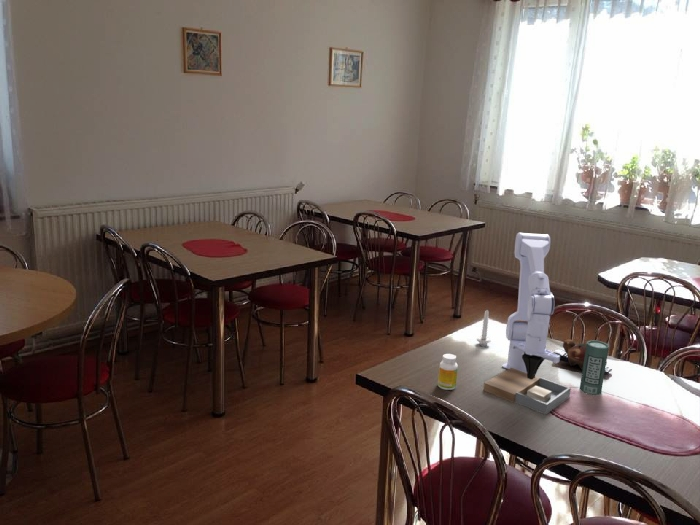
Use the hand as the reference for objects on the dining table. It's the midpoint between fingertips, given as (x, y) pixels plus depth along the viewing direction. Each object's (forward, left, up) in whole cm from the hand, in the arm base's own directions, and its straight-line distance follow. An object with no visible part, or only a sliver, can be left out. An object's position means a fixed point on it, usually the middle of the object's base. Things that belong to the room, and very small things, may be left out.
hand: (530, 377), depth 182 cm
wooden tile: (0, +3, -5) cm, 6 cm away
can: (-17, +12, -6) cm, 21 cm away
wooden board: (0, -5, -5) cm, 8 cm away
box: (0, +4, -5) cm, 7 cm away
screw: (-23, -29, -6) cm, 38 cm away
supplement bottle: (+14, -19, -6) cm, 25 cm away
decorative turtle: (-32, +3, -6) cm, 33 cm away
